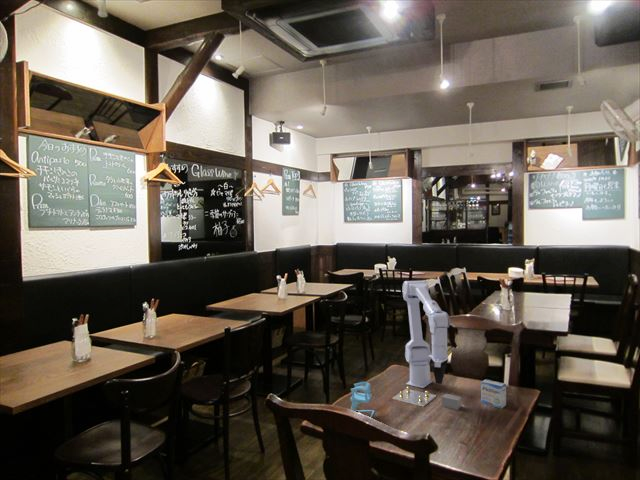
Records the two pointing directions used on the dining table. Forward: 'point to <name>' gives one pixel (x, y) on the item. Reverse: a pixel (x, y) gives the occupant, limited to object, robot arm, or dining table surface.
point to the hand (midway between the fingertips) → (439, 380)
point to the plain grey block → (451, 401)
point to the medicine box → (493, 393)
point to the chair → (361, 396)
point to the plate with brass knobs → (414, 397)
